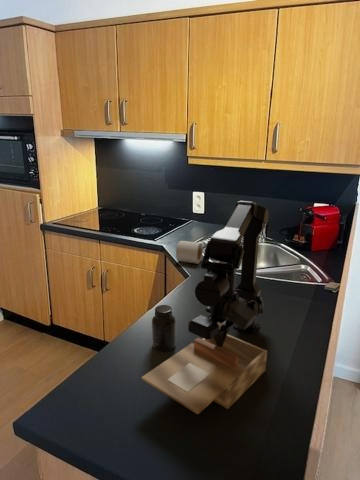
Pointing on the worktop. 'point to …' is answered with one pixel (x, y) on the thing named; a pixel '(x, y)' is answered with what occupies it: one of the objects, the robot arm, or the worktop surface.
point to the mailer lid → (196, 374)
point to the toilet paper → (189, 252)
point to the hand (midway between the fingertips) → (219, 346)
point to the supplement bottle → (163, 328)
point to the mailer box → (248, 359)
